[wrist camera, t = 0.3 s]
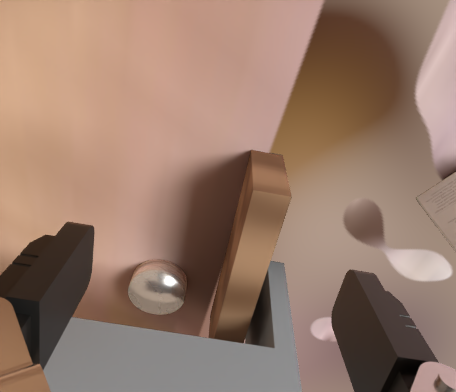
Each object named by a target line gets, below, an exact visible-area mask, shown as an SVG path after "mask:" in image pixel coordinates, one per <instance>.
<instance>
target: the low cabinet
mask: <svg viewBox="0 0 456 392" xmlns="http://www.w3.org/2000/svg"><path fill="white" fill-rule="evenodd" d="M245 339H246V341H245V344H244V343H237V342H231V341H224V340H218V339H211V338H204V337H198V336H192V335H185V334H179V333H172V332H166V331H159V330H153V329H146V328H140V327H133V326H127V325H120V324H113V323H107V322H100V321H94V320H87V319H81V318H74V317H71V319H70V321H69V323H68V325H67V327H66V329H65V330H64V332H63V334H62V336H61V338H60V340H59V342H58V343H57V345H56V347H55V349H54V351H53V353H52V355H51V357H50V358H49V360H48V362H47V364H46V366H45V368H44V370H43V372H44V375H45V377H46V380H47V383H48V385H49V388H50V391H51V392H302V390H301V382H300V375H299V368H298V360H297V353H296V347H295V339H294V332H293V325H292V317H291V310H290V303H289V296H288V289H287V282H286V274H285V267H284V263H280V262H274V261H270V264H269V267H268V270H267V273H266V276H265V279H264V282H263V285H262V288H261V291H260V294H259V297H258V300H257V304H256V307H255V310H254V313H253V316H252V319H251V322H250V325H249V328H248V331H247V334H246V337H245Z"/></svg>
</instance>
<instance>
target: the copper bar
mask: <svg viewBox="0 0 456 392" xmlns="http://www.w3.org/2000/svg"><path fill="white" fill-rule="evenodd" d="M290 200H291V192H290V187H289V183H288V178H287V173H286V168H285V164H284V159H283V155H281V154H275V153H270V152H269V153H265V152H259V151H254V150H251V153H250V157H249V161H248V165H247V169H246V173H245V178H244V182H243V186H242V190H241V194H240V198H239V202H238V206H237V210H236V214H235V218H234V222H233V226H232V230H231V234H230V238H229V242H228V246H227V250H226V255H225V259H224V263H223V267H222V271H221V274H220V278H219V282H218V286H217V290H216V294H215V298H214V302H213V306H212V311H211V316H210V328H209V338H211V339H218V340H224V341H231V342H237V343H244V340H245V337H246V334H247V331H248V328H249V325H250V322H251V319H252V316H253V313H254V310H255V307H256V304H257V300H258V297H259V294H260V291H261V288H262V285H263V282H264V279H265V276H266V273H267V270H268V267H269V264H270V261H271V258H272V255H273V252H274V249H275V246H276V242H277V240H278V236H279V234H280V230H281V228H282V224H283V222H284V219H285V216H286V212H287V209H288V206H289V203H290Z"/></svg>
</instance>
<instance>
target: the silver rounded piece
mask: <svg viewBox="0 0 456 392" xmlns="http://www.w3.org/2000/svg"><path fill="white" fill-rule="evenodd" d="M186 288H187V277H186V275H185V273H184V272H183V270H182V269H181V268H180V267H178V266H177V265H175V264H174V263H171V262H169V261H165V260H149V261H145V262H143V263H141V264H140V265H139V266H138V267H137V268H136V269H135V271H134V273H133V276H132V279H131V282H130V285H129V288H128V296H129V299H130V300H131V302H132V303H133V304H134V305H135V306H136V307H137V308H139V309H140V310H142V311H144V312H147V313H150V314H156V315H164V314H169V313H172V312H175V311H176V310H178V309H179V308H180V307H181V306H182V305H183V303H184V300H185V294H186Z"/></svg>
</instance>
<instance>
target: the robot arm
mask: <svg viewBox="0 0 456 392" xmlns="http://www.w3.org/2000/svg"><path fill="white" fill-rule="evenodd" d="M93 246H94V227H93V226H91V225H85V224H79V223H73V222H67V223H66V224H65V225H64V226H63V227H62V228H61V230H60V231H59V232H58V233H57V235H56V236H50V235H44V236H42V237H40V238H38V239H36V240H34V241H32V242H30V243H29V245H28V246H27V247H26V248H25V249H24V250H23V251H22V252H21V254H20V255H19V256H18V257H17V258H16V259H15V260H14V261H13V263H12V264H10V265H9V267H8V268H7V269H6V270H5V271H4V272H3V273H2V274H1V275H0V392H51V391H50V388H49V385H48V383H47V380H46V377H45V375H44V372H43V370H44V368H45V366H46V364H47V362H48V360H49V358H50V357H51V355H52V353H53V351H54V349H55V347H56V345H57V343H58V342H59V340H60V338H61V336H62V334H63V332H64V330H65V329H66V327H67V325H68V323H69V321H70V319H71V317H72V315H73V314H74V312H75V310H76V308H77V306H78V304H79V302H80V300H81V299H82V297H83V295H84V293H85V291H86V289H87V287H88V284H89V281H90V277H91V273H92V262H93ZM332 328H333V331H334V334H335V337H336V339H337V342H338V345H339V348H340V351H341V354H342V357H343V360H344V362H345V366H346V368H347V371H348V374H349V377H350V380H351V383H352V386H353V389H354V391H355V392H456V370H454V369H452V368H451V367H449V366H447V365H444V364H441V363H439V362H438V360H437V359H436V357H435V356H434V354H433V352H432V351H431V349H430V348H429V346H428V344H427V343H426V341H425V340H424V338H423V336H422V335H421V333H420V332H419V330H418V329H416V325H415V324H414V322H413V321H412V319H411V318H410V316H409V314H408V313H407V311H406V309H405V308H404V306H403V305H402V303H401V302H400V301H399V300H398V299H396V298H395V297H394V296H393V295H392V294H391V293H390V292H388V291H385V290H384V288H383V286H382V285H381V283H380V281H379V280H378V278H377V276H376V275H375V274H374V273H369V272H362V271H357V270H349V271H348V272H347V273H346V275H345V278H344V280H343V283H342V286H341V288H340V291H339V294H338V296H337V299H336V301H335V304H334V307H333V311H332Z"/></svg>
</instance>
